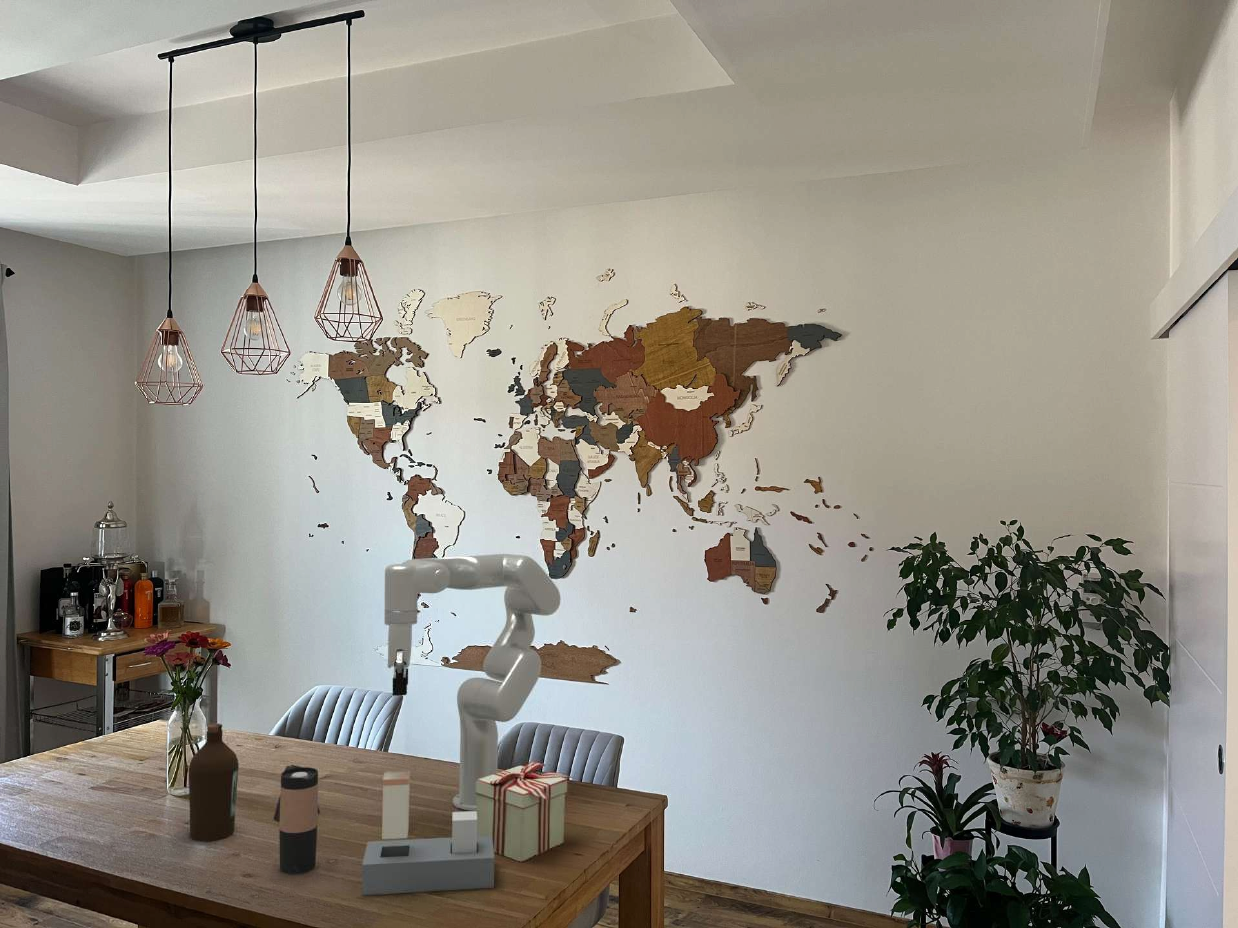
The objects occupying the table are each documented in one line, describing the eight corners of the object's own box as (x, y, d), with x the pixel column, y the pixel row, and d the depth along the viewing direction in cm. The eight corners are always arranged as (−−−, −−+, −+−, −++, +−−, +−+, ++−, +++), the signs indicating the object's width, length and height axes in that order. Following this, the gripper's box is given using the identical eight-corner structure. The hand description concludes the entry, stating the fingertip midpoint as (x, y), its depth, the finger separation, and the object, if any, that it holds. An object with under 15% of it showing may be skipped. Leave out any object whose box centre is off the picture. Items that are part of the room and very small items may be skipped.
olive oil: (187, 845, 209) (190, 733, 210) (186, 829, 219) (188, 721, 219) (238, 838, 214) (241, 728, 215) (235, 822, 224) (237, 717, 224)
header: (491, 863, 202) (492, 804, 203) (493, 887, 191) (495, 824, 191) (367, 870, 198) (368, 809, 198) (361, 895, 186) (362, 831, 186)
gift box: (536, 867, 201) (537, 786, 201) (470, 848, 210) (471, 771, 211) (581, 842, 215) (582, 766, 215) (517, 825, 225) (518, 753, 225)
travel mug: (284, 860, 202) (286, 766, 203) (320, 859, 203) (322, 766, 203) (274, 875, 195) (276, 778, 195) (311, 874, 195) (313, 777, 196)
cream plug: (408, 828, 196) (409, 770, 196) (407, 837, 191) (408, 778, 191) (383, 829, 195) (384, 771, 195) (381, 839, 190) (382, 779, 190)
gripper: (386, 611, 228) (385, 682, 228) (382, 623, 211) (381, 699, 211) (417, 611, 230) (417, 681, 230) (416, 622, 213) (416, 698, 213)
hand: (400, 690), depth 221 cm, fingers open, 9 cm apart
